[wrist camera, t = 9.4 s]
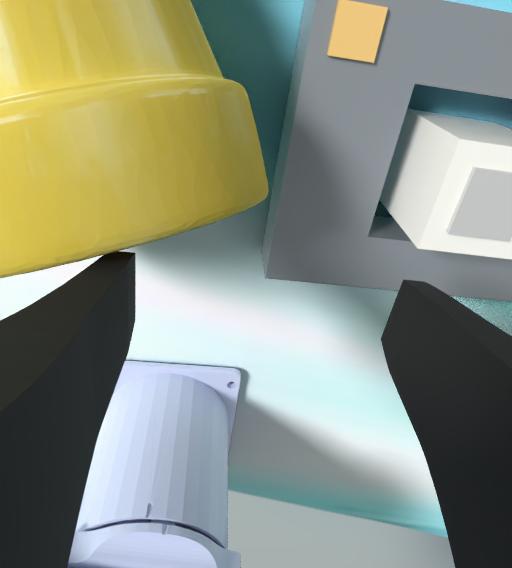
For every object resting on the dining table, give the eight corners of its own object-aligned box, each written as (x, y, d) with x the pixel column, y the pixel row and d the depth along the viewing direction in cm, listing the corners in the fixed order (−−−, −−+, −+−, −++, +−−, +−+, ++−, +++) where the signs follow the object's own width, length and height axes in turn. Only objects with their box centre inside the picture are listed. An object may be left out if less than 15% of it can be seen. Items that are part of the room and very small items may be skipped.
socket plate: (523, 278, 23) (555, 307, 21) (261, 251, 22) (265, 280, 19) (650, 44, 18) (713, 49, 15) (307, -19, 16) (321, -23, 14)
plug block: (458, 208, 21) (519, 262, 17) (378, 198, 20) (419, 250, 16) (494, 122, 19) (575, 157, 15) (406, 108, 18) (462, 140, 14)
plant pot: (283, -226, 10) (342, 188, 13) (113, -29, 18) (172, 204, 21) (-450, -578, 4) (-60, 318, 7) (-233, -60, 12) (-87, 272, 15)
